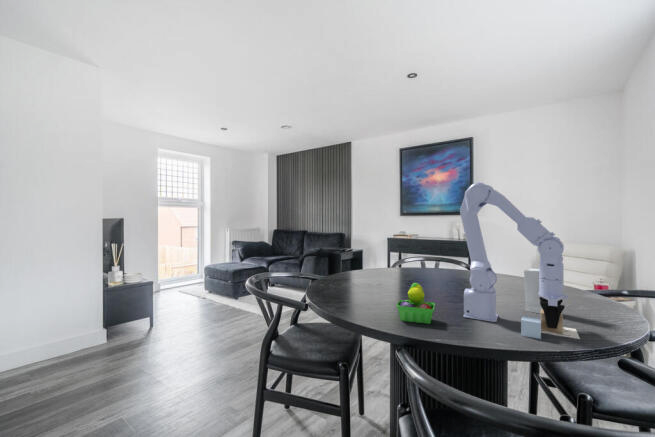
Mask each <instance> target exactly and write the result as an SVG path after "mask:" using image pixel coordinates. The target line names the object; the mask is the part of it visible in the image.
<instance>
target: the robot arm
mask: <svg viewBox="0 0 655 437" xmlns="http://www.w3.org/2000/svg"><path fill="white" fill-rule="evenodd" d="M487 204H488V205H492V206H496V207H497V208H499V210H501V212H503V213H504V214H505V215H506V216H508V217H509V218H510V219H511V220H512V221H514V222H515V223H516V225H517V227H516V228H517V229H516V230H517V232H518V233H520V234H521V235H522V236H523V237H524V238H525V239H526V240H527V241H528V242H529V243H530V244H531V245H533V246H534V247H535V246H536V247H537V251H538V254H540V255H539V258H540V259H539V260H540V261H539V264H538V265H539V266H538V267H539V268H538V269H539V296H541V297H539V299H540V305H541V307H542V309H543V311H544V314H545V319H546V324H547V327H548V328H553V329H557V326H558V322H559V318H560V315H561V313H562V314H563V311H564V309H565V307H566V306H565V305H564V304H563V305H562V303H563V299H569V298H570V296H569V294H565V293H564V292H565V291H564V277H565V276H564V262H563V261H564V258H563V252H564V249H565V247H564V243H563V242H562V241H561V239H560V238H559V237H556V236H555V235H556V234H555V233H554V231H551V232H550V231H549V230H548V229H547V228H546V227H545V226H544V225H542V220H540V219H539V218H537V219H536V218H535V217H534V216H532V217H531V216H526V215H525V214H523V213H522V211H520V210H519V208H518V207H517V206H515V205H514V204H513V202H511V201H510V200H509V199H508V198H507V197H506V196H505V195H504V194H502V193H501V192H500V191H498V190H496V189H494V187H492V186H491V185H488V184H485V183H484V182H474V183H472V184H470V186H469V187H468V188H467V189H466V190H465V192H464V196H463V200H462V203H461V206H460V209H459V213H460V218H461V223H462V227H463V231H464V236H465V241H466V245H467V250H468V253H469V254H468V255H469V258H470V259H469V260H470V266H469V267H470V268H469V269H470V276H469V284H470V286H471V288H465V289H464V291H463V318H468V319H474V320H480V321H487V322H490V323H496V322H497V321H498V318H499V314H497V289H496V287H495V285H496V283H497V282H498V281H497V280H498V277H497V274H496V273H495V271H494V270H493V269H492V265H491V263H490V261H489V260H488V256H487V250H486V247H485V242H484V238H483V234H482V230H481V226H480V221H479V216H478V213H479V212H480V211H481V209H482V208H483V207H484V206H486V205H487Z"/></svg>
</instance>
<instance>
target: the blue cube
mask: <svg viewBox="0 0 655 437" xmlns="http://www.w3.org/2000/svg"><path fill="white" fill-rule="evenodd" d="M520 335H521V336H522V337H527V338H528V337H529V338H533V339H537V340H542V333H541V318H538V317H534V316H533V317H532V316H525V315H521V318H520Z"/></svg>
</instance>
